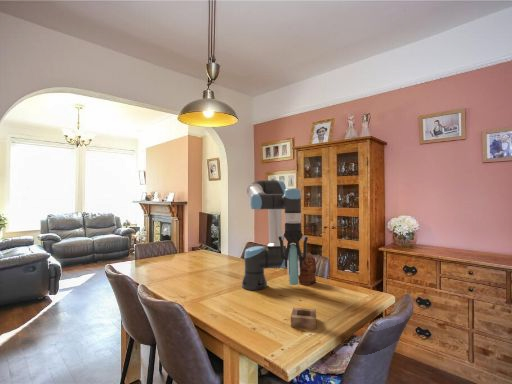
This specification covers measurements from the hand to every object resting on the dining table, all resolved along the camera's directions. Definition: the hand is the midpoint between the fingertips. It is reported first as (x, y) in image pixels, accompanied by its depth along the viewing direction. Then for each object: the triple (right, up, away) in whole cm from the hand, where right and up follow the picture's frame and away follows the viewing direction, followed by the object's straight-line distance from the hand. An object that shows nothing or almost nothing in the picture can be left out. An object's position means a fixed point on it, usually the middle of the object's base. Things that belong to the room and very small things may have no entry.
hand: (293, 274), depth 123 cm
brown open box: (+3, -18, -7) cm, 20 cm away
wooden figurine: (+15, -20, +46) cm, 53 cm away
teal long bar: (0, -4, 0) cm, 4 cm away
